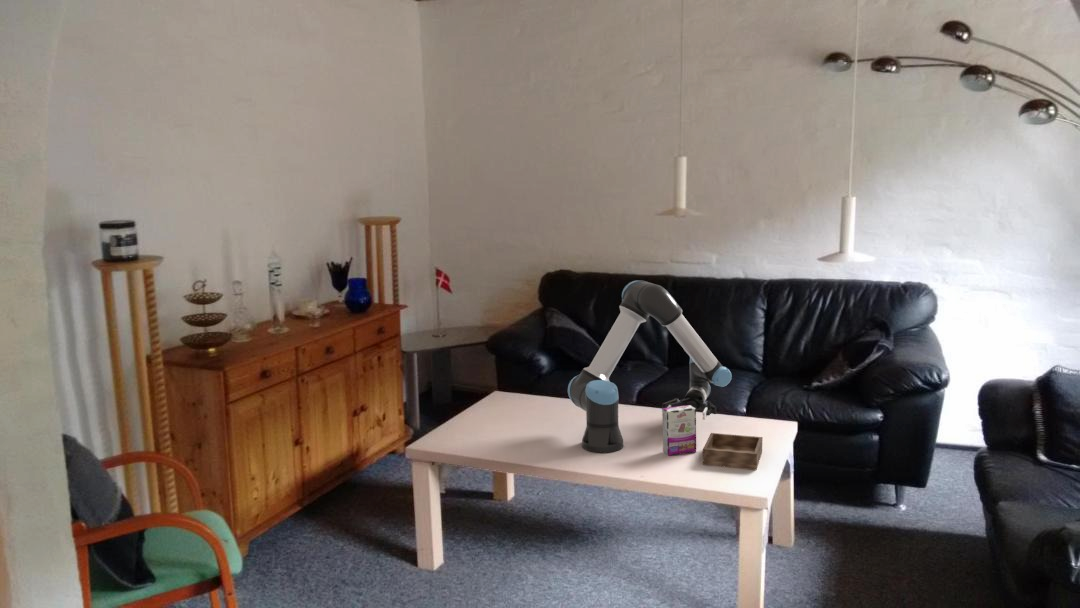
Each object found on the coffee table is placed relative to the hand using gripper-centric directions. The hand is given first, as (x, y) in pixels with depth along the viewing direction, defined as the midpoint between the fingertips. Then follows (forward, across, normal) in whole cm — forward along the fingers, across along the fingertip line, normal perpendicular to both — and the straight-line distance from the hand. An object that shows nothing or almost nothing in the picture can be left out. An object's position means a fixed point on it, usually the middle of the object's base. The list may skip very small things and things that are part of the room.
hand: (685, 414), depth 315 cm
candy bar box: (+10, 0, -11) cm, 15 cm away
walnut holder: (+11, -19, -11) cm, 24 cm away
